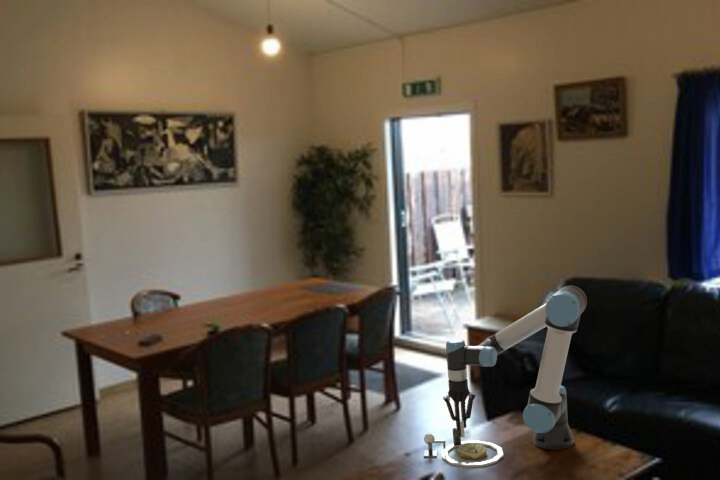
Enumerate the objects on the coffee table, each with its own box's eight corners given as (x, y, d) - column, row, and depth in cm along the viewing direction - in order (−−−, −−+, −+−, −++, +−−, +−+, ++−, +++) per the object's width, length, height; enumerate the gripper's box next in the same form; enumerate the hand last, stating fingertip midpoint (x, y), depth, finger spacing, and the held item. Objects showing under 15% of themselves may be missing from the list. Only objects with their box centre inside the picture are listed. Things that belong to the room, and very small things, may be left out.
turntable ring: (479, 438, 297) (478, 421, 297) (515, 457, 276) (514, 439, 275) (430, 451, 288) (429, 434, 287) (463, 472, 267) (462, 454, 266)
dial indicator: (446, 452, 286) (445, 430, 285) (445, 458, 281) (444, 435, 280) (425, 452, 288) (423, 430, 287) (423, 458, 283) (422, 435, 282)
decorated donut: (478, 463, 274) (477, 454, 274) (453, 458, 281) (453, 449, 280) (491, 453, 282) (491, 444, 282) (467, 448, 289) (466, 439, 288)
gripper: (470, 373, 293) (474, 430, 296) (439, 377, 291) (443, 434, 294) (476, 379, 286) (480, 437, 289) (444, 383, 284) (448, 441, 287)
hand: (462, 435), depth 291 cm, fingers closed
